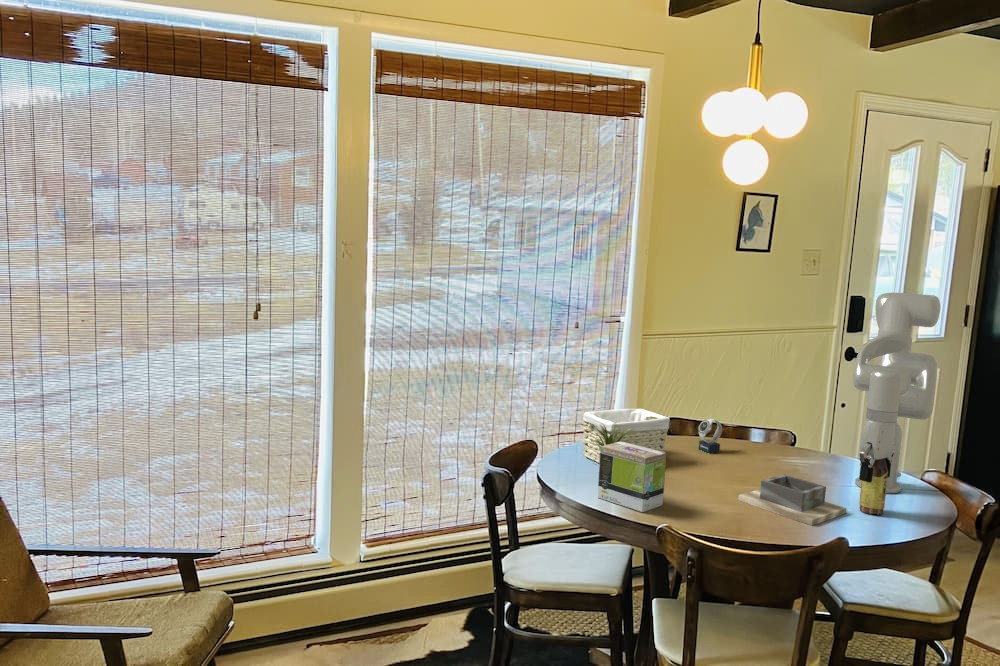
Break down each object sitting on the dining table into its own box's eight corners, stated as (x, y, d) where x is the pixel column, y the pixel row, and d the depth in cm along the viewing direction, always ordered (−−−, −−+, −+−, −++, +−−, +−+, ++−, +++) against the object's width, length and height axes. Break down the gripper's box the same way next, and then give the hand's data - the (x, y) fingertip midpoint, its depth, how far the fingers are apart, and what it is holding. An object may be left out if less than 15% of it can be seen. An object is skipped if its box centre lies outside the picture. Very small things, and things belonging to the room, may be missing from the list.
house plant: (575, 477, 235) (578, 423, 233) (587, 465, 248) (590, 413, 246) (623, 485, 230) (627, 429, 228) (633, 472, 243) (637, 419, 241)
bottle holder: (773, 490, 233) (775, 468, 232) (845, 513, 216) (848, 490, 215) (738, 500, 222) (740, 477, 221) (811, 525, 205) (814, 501, 204)
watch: (693, 449, 272) (696, 418, 271) (713, 448, 275) (716, 417, 274) (703, 454, 267) (706, 422, 266) (723, 452, 270) (726, 420, 269)
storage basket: (636, 449, 270) (639, 406, 268) (669, 462, 256) (672, 417, 254) (577, 456, 258) (580, 411, 256) (608, 470, 244) (612, 423, 242)
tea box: (663, 505, 215) (668, 451, 213) (642, 513, 208) (646, 458, 206) (618, 490, 225) (621, 439, 223) (595, 498, 218) (599, 445, 216)
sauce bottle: (886, 517, 214) (894, 444, 212) (861, 514, 215) (869, 442, 213) (879, 509, 220) (888, 438, 218) (855, 506, 222) (863, 436, 219)
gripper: (883, 410, 223) (876, 471, 224) (851, 416, 212) (844, 479, 214) (910, 416, 217) (903, 478, 219) (879, 422, 206) (872, 487, 208)
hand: (874, 478), depth 216 cm, fingers open, 9 cm apart
